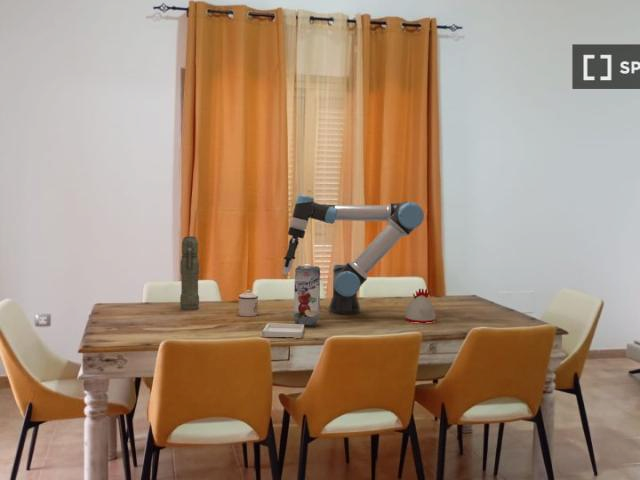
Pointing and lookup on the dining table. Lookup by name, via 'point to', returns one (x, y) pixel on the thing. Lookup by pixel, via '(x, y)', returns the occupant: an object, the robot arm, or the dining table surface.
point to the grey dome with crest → (420, 308)
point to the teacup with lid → (248, 304)
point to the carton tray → (283, 330)
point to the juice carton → (307, 295)
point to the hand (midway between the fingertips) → (285, 273)
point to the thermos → (189, 274)
